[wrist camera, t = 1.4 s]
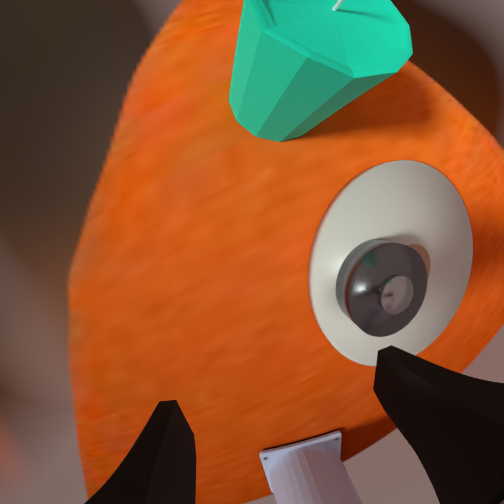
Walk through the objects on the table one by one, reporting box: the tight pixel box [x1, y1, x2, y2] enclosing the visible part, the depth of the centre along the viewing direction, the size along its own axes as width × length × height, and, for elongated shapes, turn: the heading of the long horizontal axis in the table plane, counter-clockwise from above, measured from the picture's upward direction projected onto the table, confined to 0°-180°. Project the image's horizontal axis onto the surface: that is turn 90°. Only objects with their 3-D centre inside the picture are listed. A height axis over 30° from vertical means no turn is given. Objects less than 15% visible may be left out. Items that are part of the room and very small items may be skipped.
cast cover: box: [336, 239, 427, 337], centre depth 16 cm, size 6×6×3 cm
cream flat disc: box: [308, 160, 473, 366], centre depth 18 cm, size 16×16×1 cm
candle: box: [229, 0, 413, 142], centre depth 10 cm, size 6×6×12 cm
